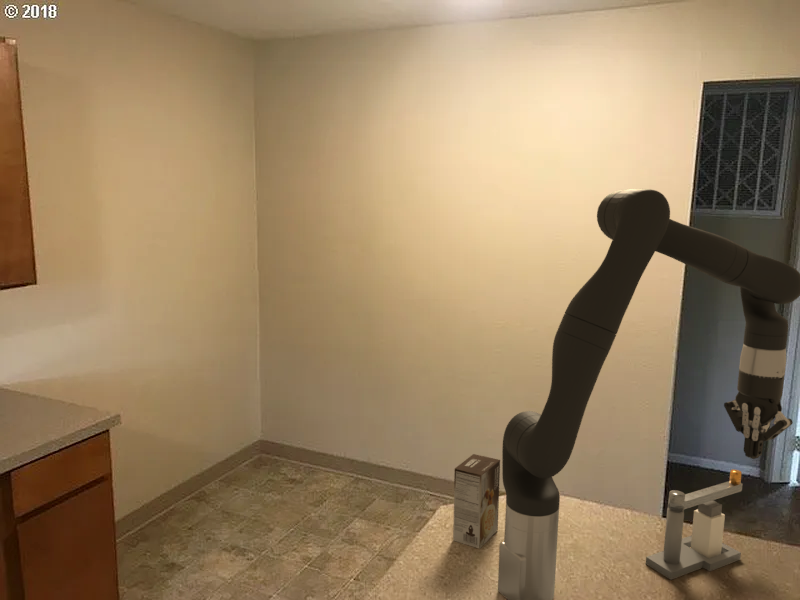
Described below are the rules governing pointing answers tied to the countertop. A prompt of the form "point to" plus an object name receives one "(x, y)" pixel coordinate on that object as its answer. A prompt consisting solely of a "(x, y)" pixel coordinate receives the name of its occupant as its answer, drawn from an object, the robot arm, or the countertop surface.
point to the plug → (708, 529)
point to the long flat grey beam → (705, 493)
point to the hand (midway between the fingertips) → (752, 457)
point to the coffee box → (476, 500)
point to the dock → (685, 552)
